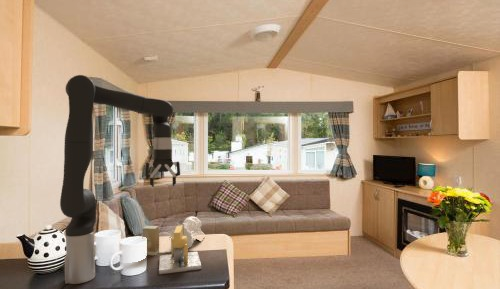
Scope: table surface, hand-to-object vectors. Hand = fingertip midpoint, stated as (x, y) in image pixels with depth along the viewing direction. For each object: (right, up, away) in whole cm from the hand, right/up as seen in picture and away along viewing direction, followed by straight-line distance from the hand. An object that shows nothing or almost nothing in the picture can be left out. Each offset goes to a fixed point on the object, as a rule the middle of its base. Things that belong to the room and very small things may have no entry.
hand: (163, 186), depth 133 cm
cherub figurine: (+6, -32, +22) cm, 39 cm away
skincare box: (-8, -32, +8) cm, 34 cm away
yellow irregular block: (+8, -24, -5) cm, 25 cm away
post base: (+8, -32, -5) cm, 33 cm away
